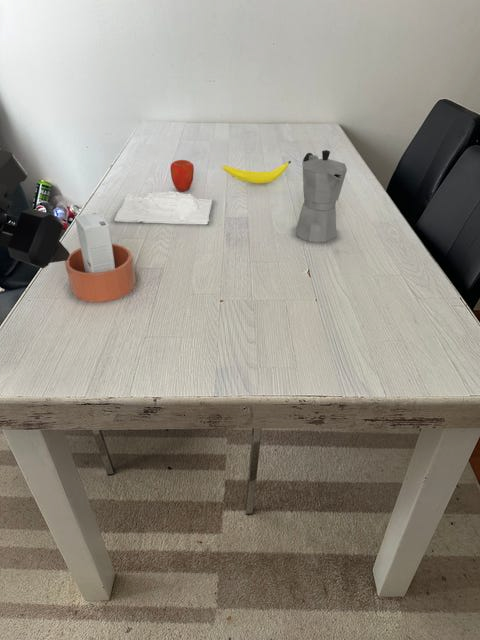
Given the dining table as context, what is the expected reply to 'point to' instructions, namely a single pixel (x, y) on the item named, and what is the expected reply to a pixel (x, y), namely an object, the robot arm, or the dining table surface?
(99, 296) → the crock
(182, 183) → the red rounded piece
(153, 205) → the terrain model
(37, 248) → the robot arm
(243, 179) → the banana
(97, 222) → the cosmetic box
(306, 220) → the coffeepot
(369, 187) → the dining table surface
